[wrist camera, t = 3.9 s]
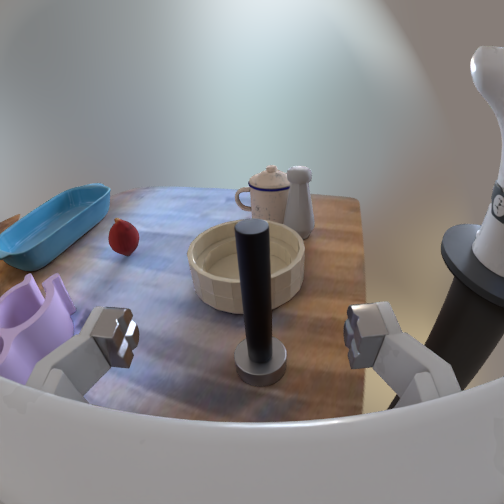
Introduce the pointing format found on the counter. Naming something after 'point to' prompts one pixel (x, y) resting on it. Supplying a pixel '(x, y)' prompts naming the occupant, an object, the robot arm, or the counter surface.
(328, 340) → the counter surface
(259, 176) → the teacup with lid
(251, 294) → the black tall cylinder post
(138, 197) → the counter surface
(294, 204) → the salt shaker
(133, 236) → the onion
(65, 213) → the casserole dish
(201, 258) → the bowl
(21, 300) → the clip
